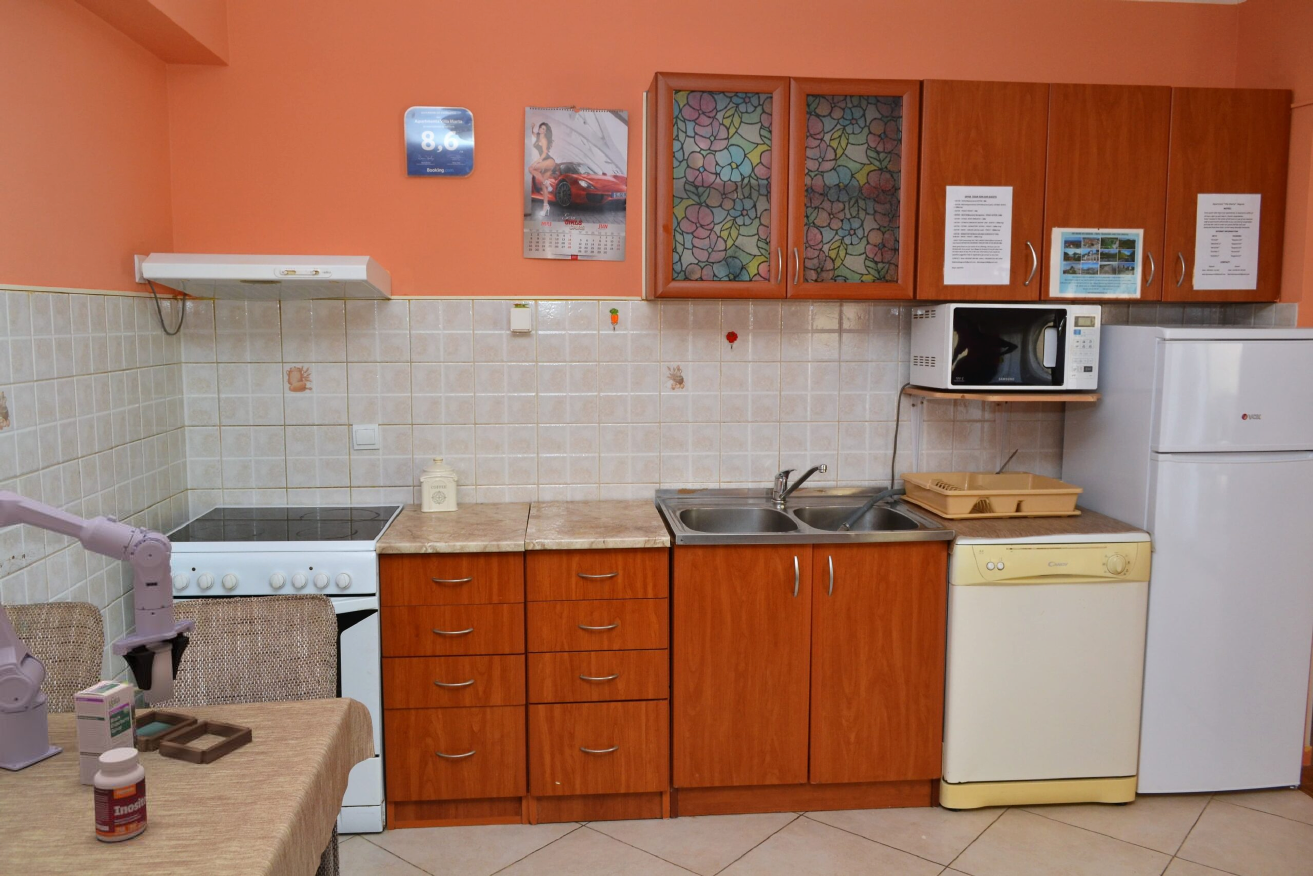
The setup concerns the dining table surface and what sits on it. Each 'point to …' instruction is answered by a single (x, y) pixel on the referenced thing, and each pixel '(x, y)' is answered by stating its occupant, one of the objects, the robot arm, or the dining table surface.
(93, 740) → the syrup box
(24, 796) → the dining table surface
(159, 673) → the tube
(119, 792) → the pill bottle
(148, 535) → the robot arm
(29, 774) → the dining table surface
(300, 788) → the dining table surface
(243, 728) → the brown flat frame
